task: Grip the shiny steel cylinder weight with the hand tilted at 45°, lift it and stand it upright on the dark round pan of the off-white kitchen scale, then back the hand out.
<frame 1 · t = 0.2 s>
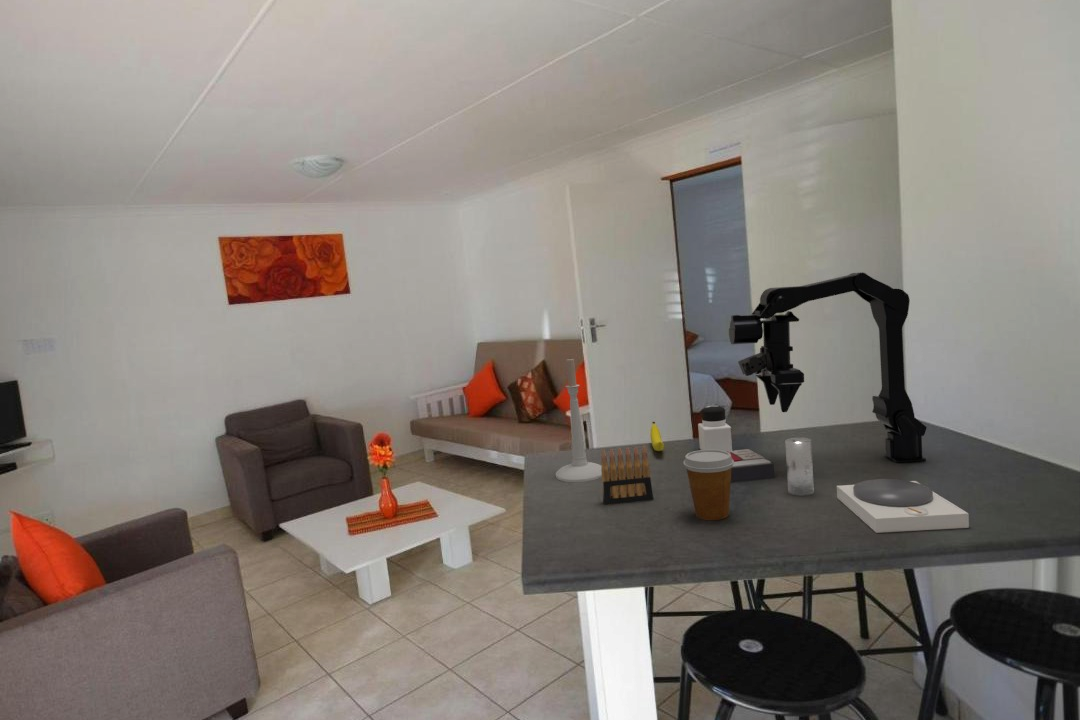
hand: (778, 408, 146), 14 cm above the breakfast bar counter, tool pointing down, fingers open, 9 cm apart
medicine bottle: (716, 451, 168), on the breakfast bar counter
candlestick: (580, 475, 159), on the breakfast bar counter
disposable coffee cup: (712, 515, 123), on the breakfast bar counter
banana: (658, 451, 173), on the breakfast bar counter
calculator: (739, 473, 149), on the breakfast bar counter
kitchen scale: (892, 507, 118), on the breakfast bar counter
ammunition clip: (628, 501, 136), on the breakfast bar counter
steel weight: (800, 491, 131), on the breakfast bar counter
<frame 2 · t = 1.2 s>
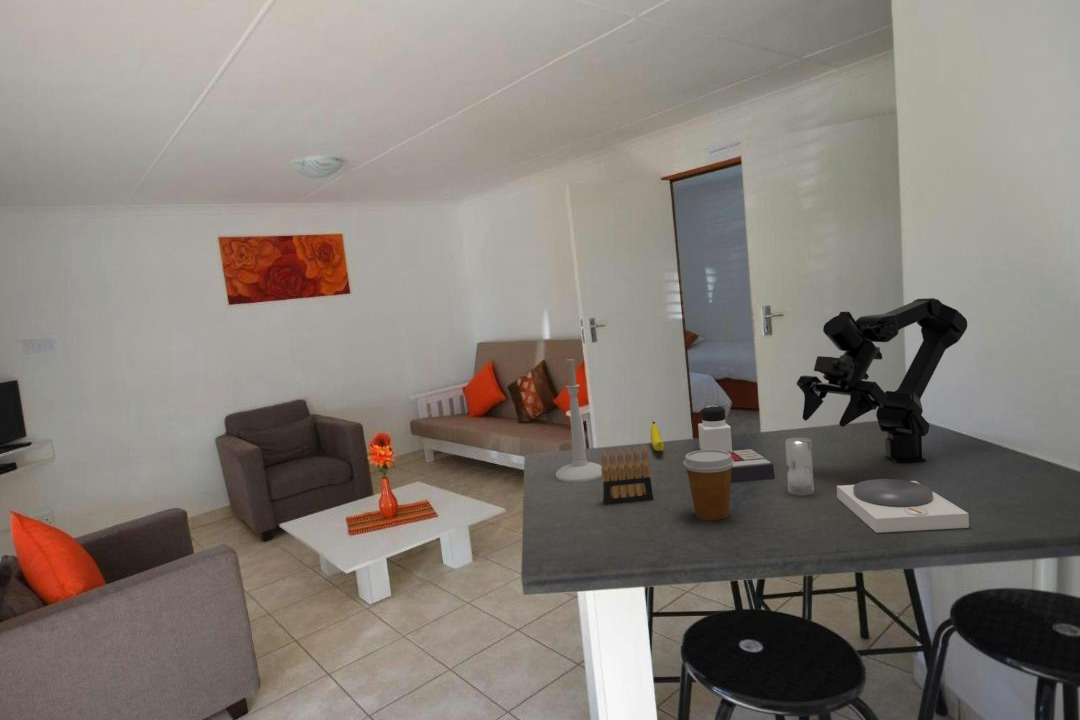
hand: (822, 422, 133), 13 cm above the breakfast bar counter, tool tilted 45°, fingers open, 9 cm apart
nothing on the breakfast bar counter moved.
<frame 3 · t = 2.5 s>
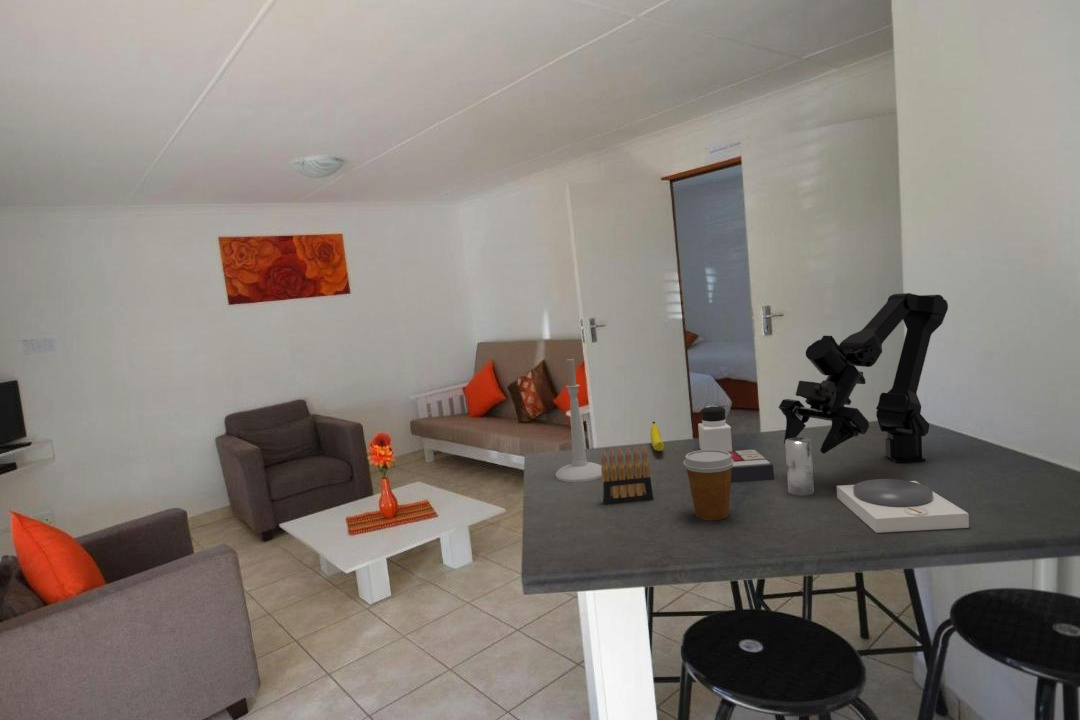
hand: (803, 448, 131), 9 cm above the breakfast bar counter, tool tilted 45°, fingers open, 9 cm apart
nothing on the breakfast bar counter moved.
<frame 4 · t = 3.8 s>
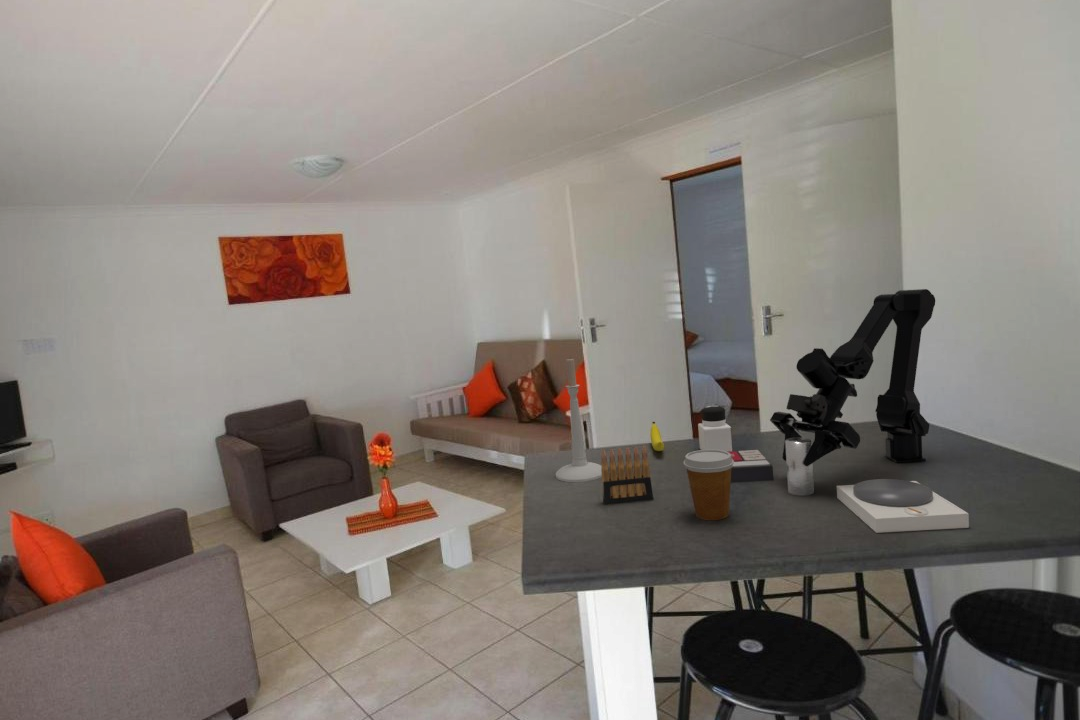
hand: (794, 462, 130), 7 cm above the breakfast bar counter, tool tilted 45°, fingers closed on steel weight, 5 cm apart
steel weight: (800, 491, 131), on the breakfast bar counter, touching gripper
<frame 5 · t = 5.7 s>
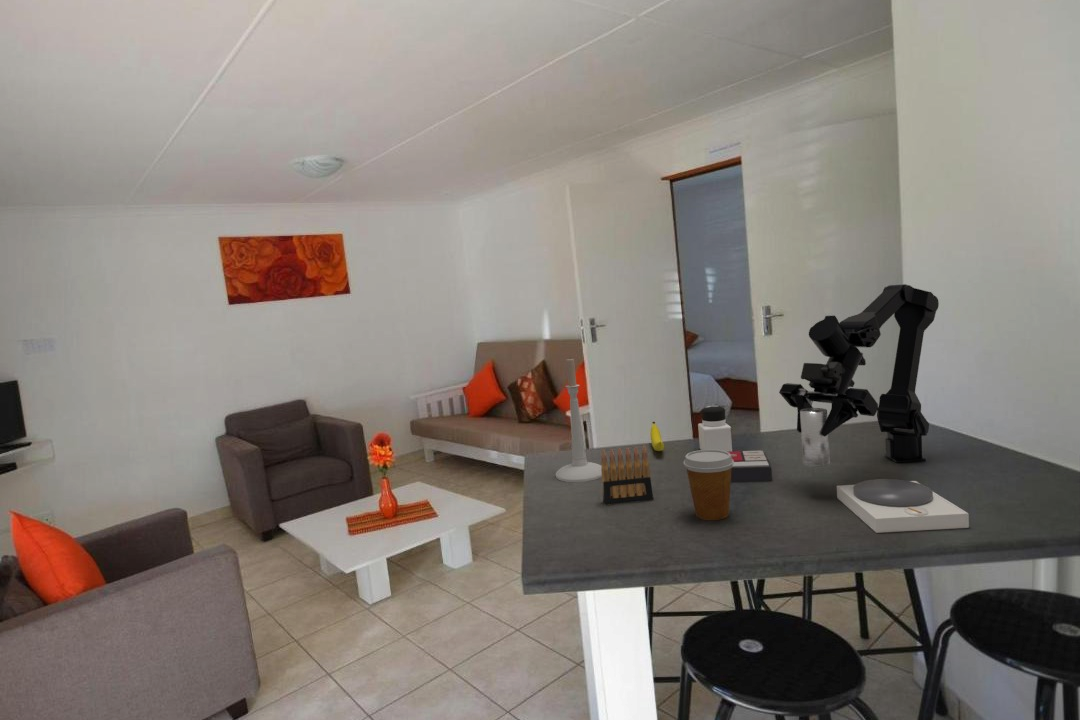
hand: (810, 433, 125), 13 cm above the breakfast bar counter, tool tilted 45°, fingers closed on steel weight, 5 cm apart
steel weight: (816, 463, 127), point 7 cm above the breakfast bar counter, touching gripper
when the fingers open (11 cm above the breakfast bar counter, at t = 7.5 s): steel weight drops 1 cm, resting on kitchen scale.
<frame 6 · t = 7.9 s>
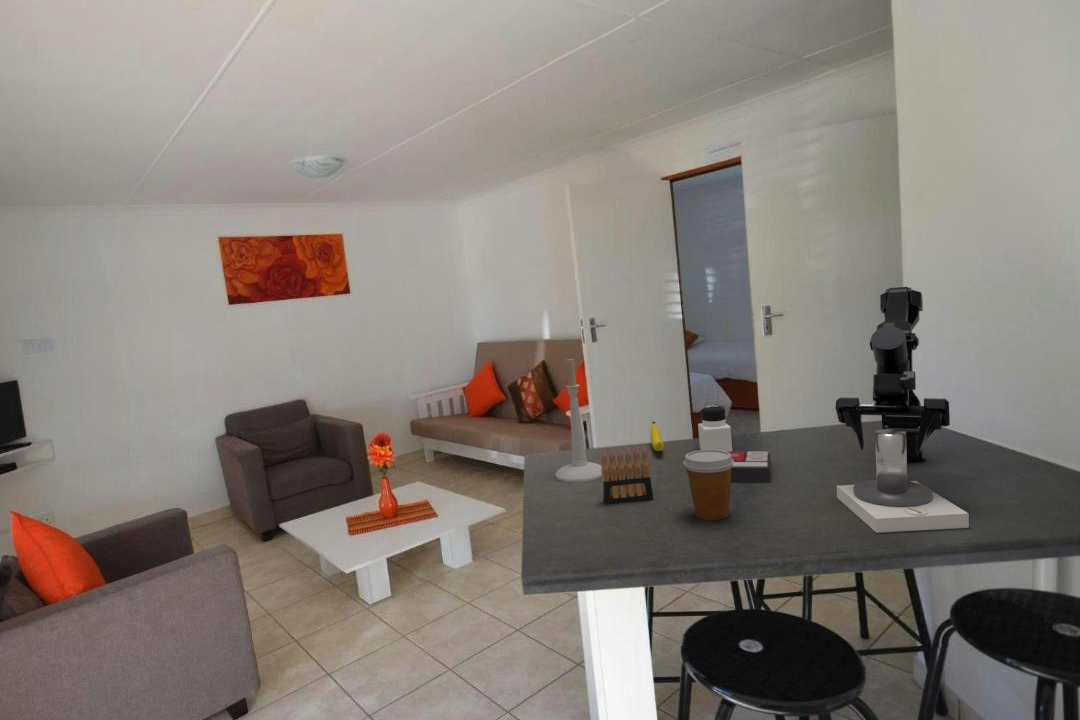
hand: (889, 450, 115), 12 cm above the breakfast bar counter, tool tilted 45°, fingers open, 9 cm apart
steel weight: (892, 489, 117), point 4 cm above the breakfast bar counter, touching kitchen scale
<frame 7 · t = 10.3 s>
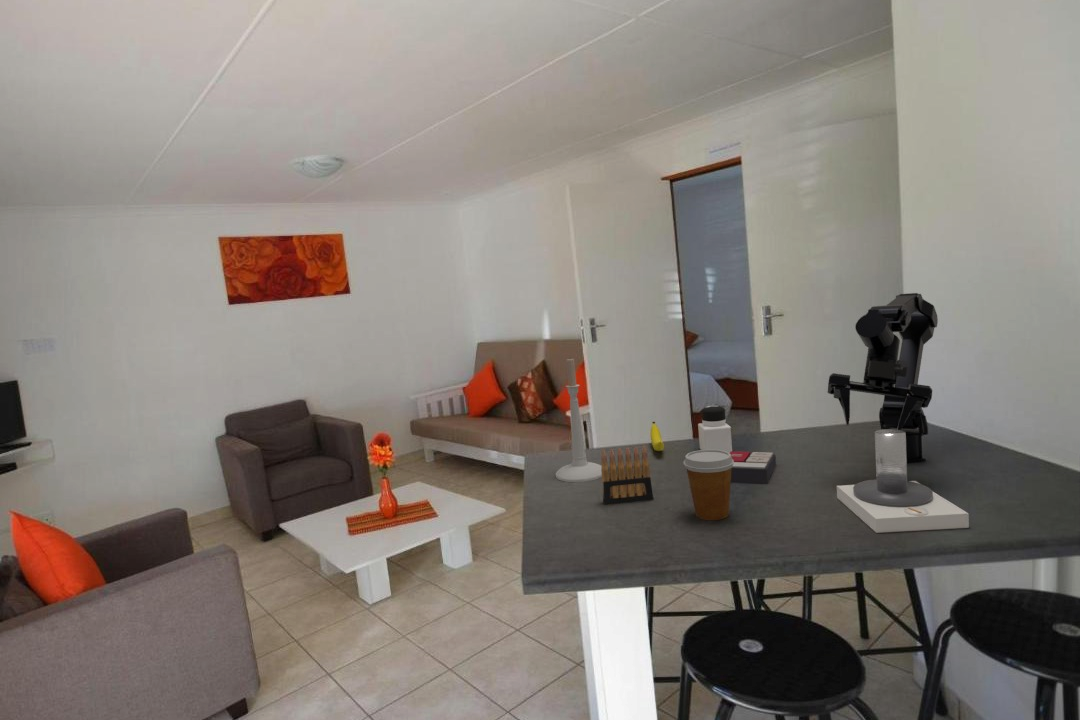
hand: (872, 428, 127), 13 cm above the breakfast bar counter, tool tilted 35°, fingers open, 9 cm apart
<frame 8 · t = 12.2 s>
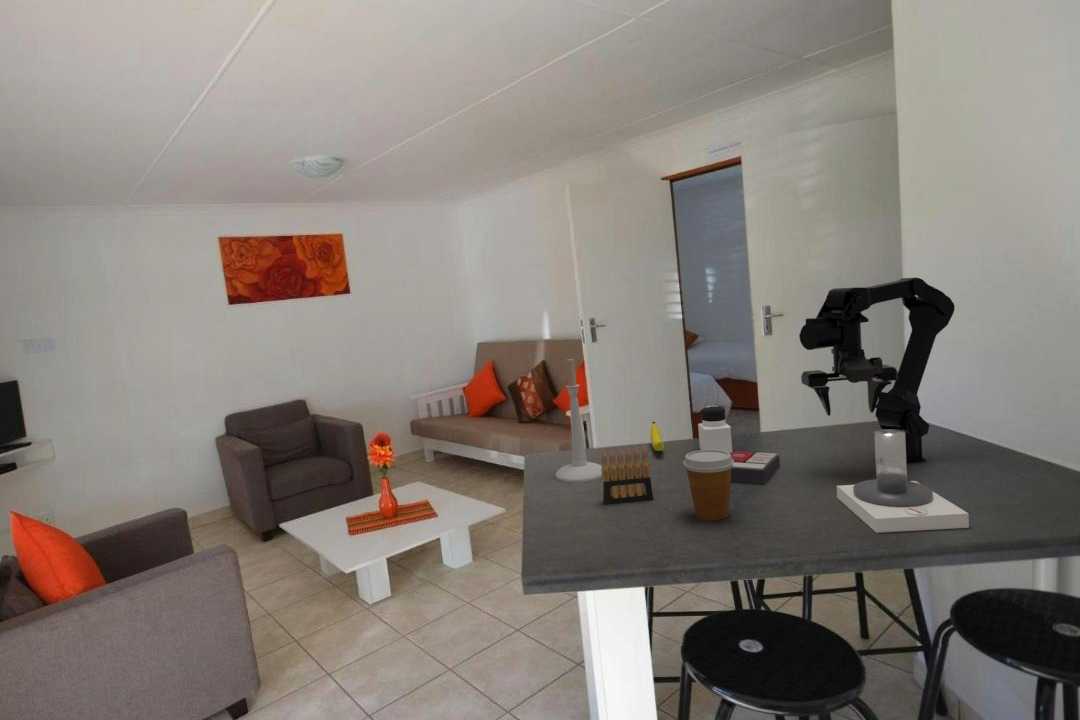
hand: (850, 413, 140), 13 cm above the breakfast bar counter, tool pointing down, fingers open, 9 cm apart
at the end: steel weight inside the target area on the kitchen scale (0.1 cm from its centre), point 3.5 cm above the kitchen scale's base; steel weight tilted 0°; the gripper is holding nothing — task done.
